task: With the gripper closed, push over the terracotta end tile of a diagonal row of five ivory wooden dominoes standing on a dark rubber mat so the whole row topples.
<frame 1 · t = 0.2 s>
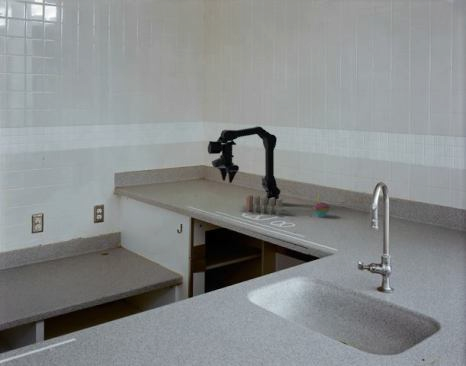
hand: (227, 181, 302), 14 cm above the worktop, fingers open, 9 cm apart
domino 3: (264, 212, 291), resting on mat
domino 2: (256, 211, 293), resting on mat
domino 5: (278, 214, 287), resting on mat
mat: (264, 213, 291), on the worktop
domino 4: (271, 213, 289), resting on mat
domino 1: (249, 210, 294), resting on mat
cupcake: (321, 216, 285), on the worktop
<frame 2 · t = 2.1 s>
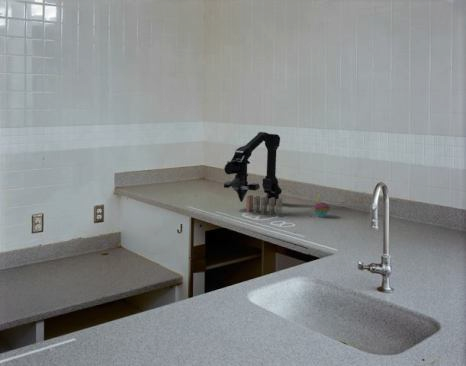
hand: (241, 201, 296), 5 cm above the worktop, fingers closed
nothing on the worktop moved.
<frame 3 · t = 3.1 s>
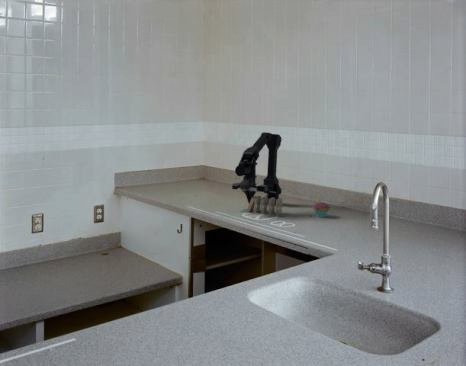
hand: (249, 203, 294), 4 cm above the worktop, fingers closed
domino 1: (249, 210, 294), point 1 cm above the worktop, tilted 22°, touching mat
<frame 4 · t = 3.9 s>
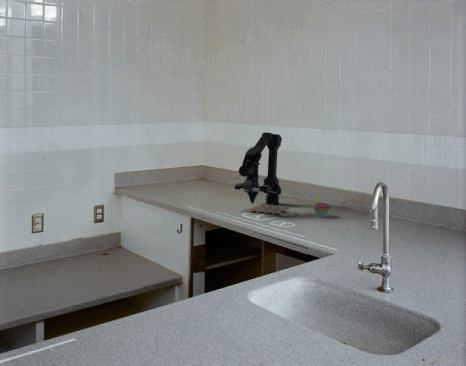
hand: (252, 203, 293), 4 cm above the worktop, fingers closed
domino 3: (265, 211, 290), point 1 cm above the worktop, tilted 68°, touching domino 2, domino 4, mat
domino 2: (258, 210, 292), point 1 cm above the worktop, tilted 68°, touching domino 1, domino 3, mat
domino 5: (280, 212, 286), point 1 cm above the worktop, tilted 90°, touching domino 4, mat
domino 4: (273, 212, 288), point 1 cm above the worktop, tilted 67°, touching domino 3, domino 5
domino 1: (251, 209, 294), point 1 cm above the worktop, tilted 67°, touching domino 2, mat
everything else where it was.
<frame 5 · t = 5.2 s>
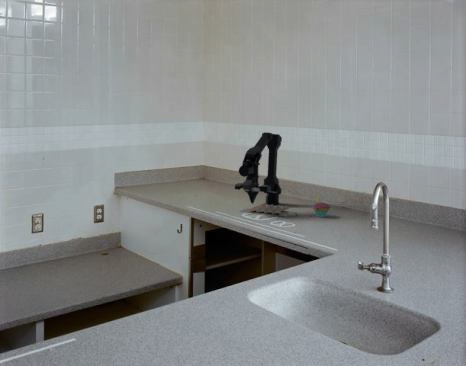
hand: (252, 203, 293), 4 cm above the worktop, fingers closed
nothing on the worktop moved.
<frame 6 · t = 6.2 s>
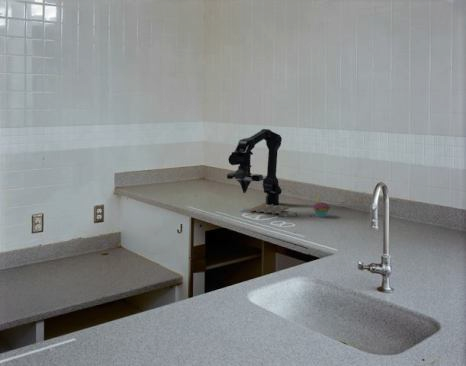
hand: (244, 192, 294), 10 cm above the worktop, fingers closed
nothing on the worktop moved.
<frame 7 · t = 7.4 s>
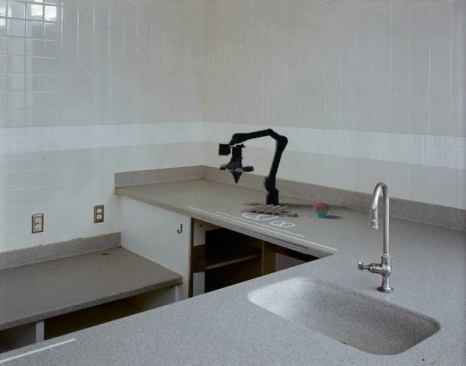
hand: (236, 183, 311), 12 cm above the worktop, fingers closed
nothing on the worktop moved.
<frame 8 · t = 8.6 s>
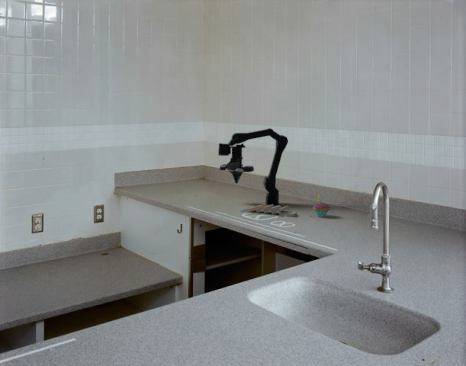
hand: (236, 183, 311), 12 cm above the worktop, fingers closed
nothing on the worktop moved.
at the end: domino 5 tilted 90°; domino 3 tilted 68° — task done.
